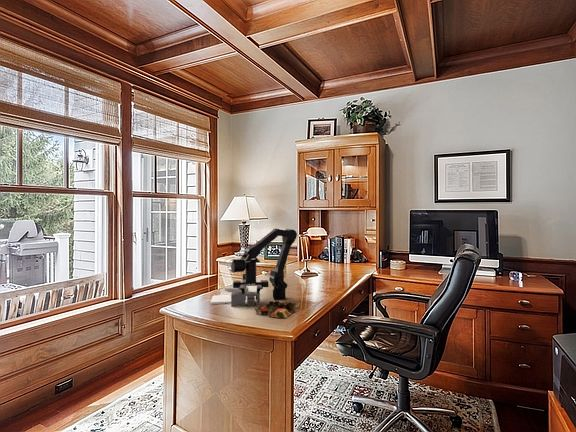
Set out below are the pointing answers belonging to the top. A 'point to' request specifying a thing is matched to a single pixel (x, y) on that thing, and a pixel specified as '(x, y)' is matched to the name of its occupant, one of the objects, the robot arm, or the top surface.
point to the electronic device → (231, 289)
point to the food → (277, 309)
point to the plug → (250, 301)
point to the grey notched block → (243, 298)
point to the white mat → (221, 299)
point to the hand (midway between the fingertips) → (250, 300)
